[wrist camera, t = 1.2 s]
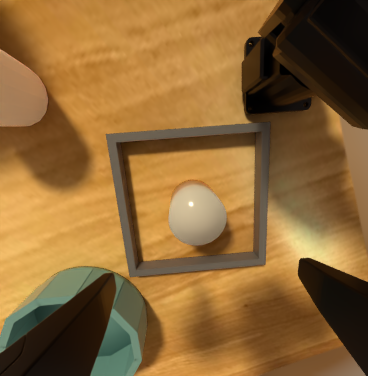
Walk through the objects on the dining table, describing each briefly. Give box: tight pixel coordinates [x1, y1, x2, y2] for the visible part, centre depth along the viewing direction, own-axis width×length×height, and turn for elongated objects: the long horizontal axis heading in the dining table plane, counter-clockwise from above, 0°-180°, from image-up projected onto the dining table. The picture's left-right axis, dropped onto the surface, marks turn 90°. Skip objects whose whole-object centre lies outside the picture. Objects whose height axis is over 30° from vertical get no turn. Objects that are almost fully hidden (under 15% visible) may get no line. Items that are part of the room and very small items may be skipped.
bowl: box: [0, 266, 147, 376], centre depth 21 cm, size 14×14×4 cm
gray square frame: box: [106, 122, 270, 277], centre depth 20 cm, size 16×16×2 cm
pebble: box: [169, 180, 227, 245], centre depth 18 cm, size 5×5×5 cm
